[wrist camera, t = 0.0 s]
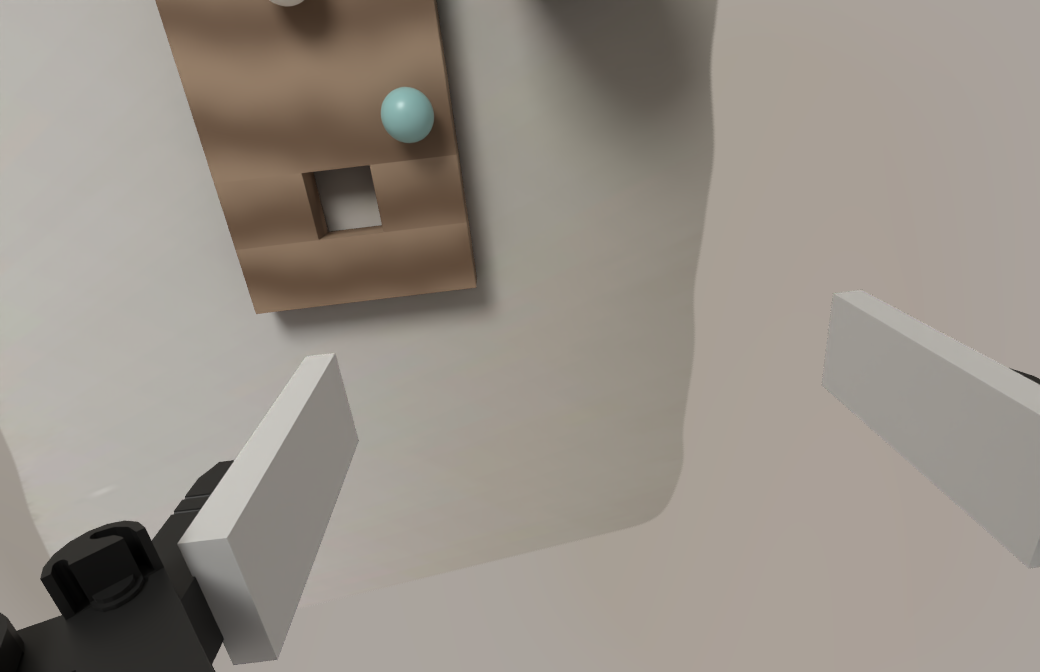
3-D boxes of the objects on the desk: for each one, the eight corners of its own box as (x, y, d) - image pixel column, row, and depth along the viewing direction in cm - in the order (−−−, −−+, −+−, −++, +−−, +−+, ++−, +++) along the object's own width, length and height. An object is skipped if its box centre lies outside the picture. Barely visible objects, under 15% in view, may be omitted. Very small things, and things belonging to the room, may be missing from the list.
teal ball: (380, 90, 35) (370, 90, 32) (431, 84, 35) (426, 83, 32) (390, 143, 36) (382, 148, 34) (439, 137, 36) (435, 142, 34)
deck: (125, -163, 32) (96, -183, 29) (407, -196, 32) (401, -219, 29) (268, 302, 43) (256, 313, 41) (476, 276, 43) (476, 287, 41)
